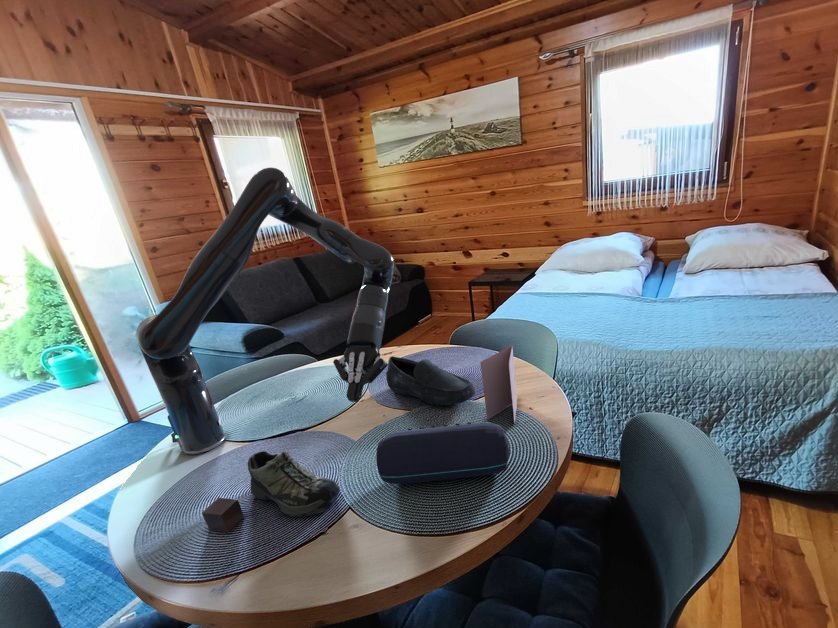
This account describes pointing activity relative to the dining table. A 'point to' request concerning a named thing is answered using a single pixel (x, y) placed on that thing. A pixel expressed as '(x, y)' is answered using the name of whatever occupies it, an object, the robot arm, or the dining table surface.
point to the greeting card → (499, 382)
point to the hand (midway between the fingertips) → (352, 401)
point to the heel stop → (223, 514)
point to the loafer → (427, 382)
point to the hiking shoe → (290, 484)
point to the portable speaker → (442, 453)
